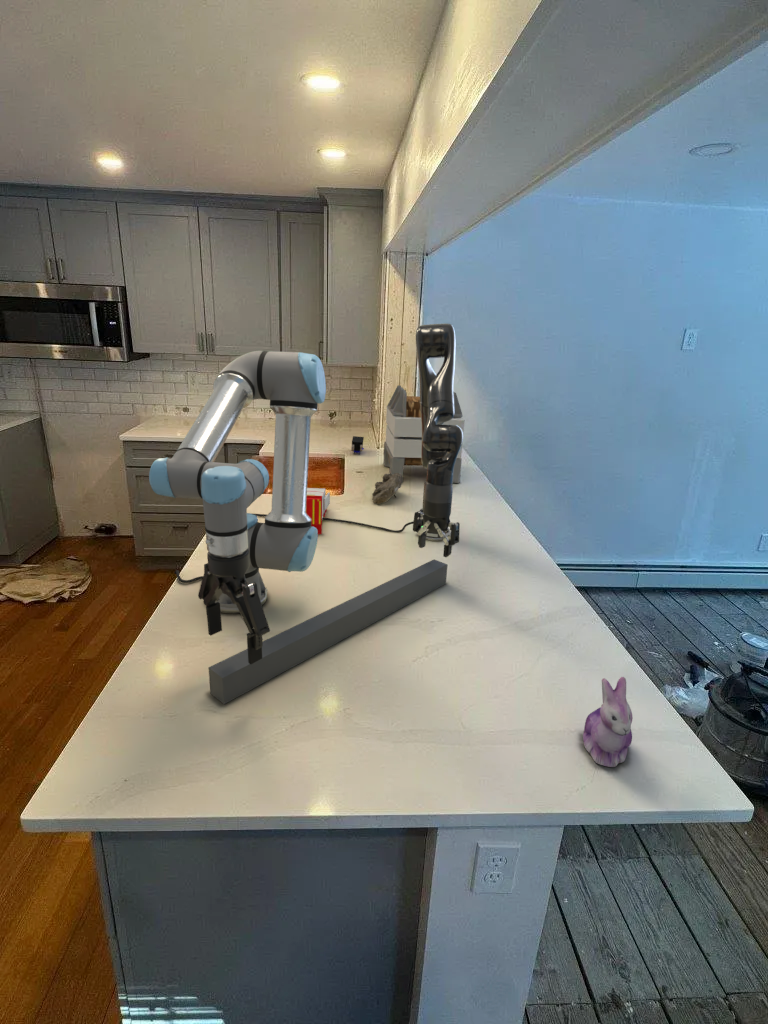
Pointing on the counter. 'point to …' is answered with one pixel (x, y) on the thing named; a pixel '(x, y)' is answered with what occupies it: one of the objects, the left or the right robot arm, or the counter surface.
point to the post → (322, 631)
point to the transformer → (411, 433)
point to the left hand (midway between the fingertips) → (234, 646)
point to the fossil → (387, 487)
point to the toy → (317, 506)
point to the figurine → (609, 726)
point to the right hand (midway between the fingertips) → (434, 551)
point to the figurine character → (357, 444)
